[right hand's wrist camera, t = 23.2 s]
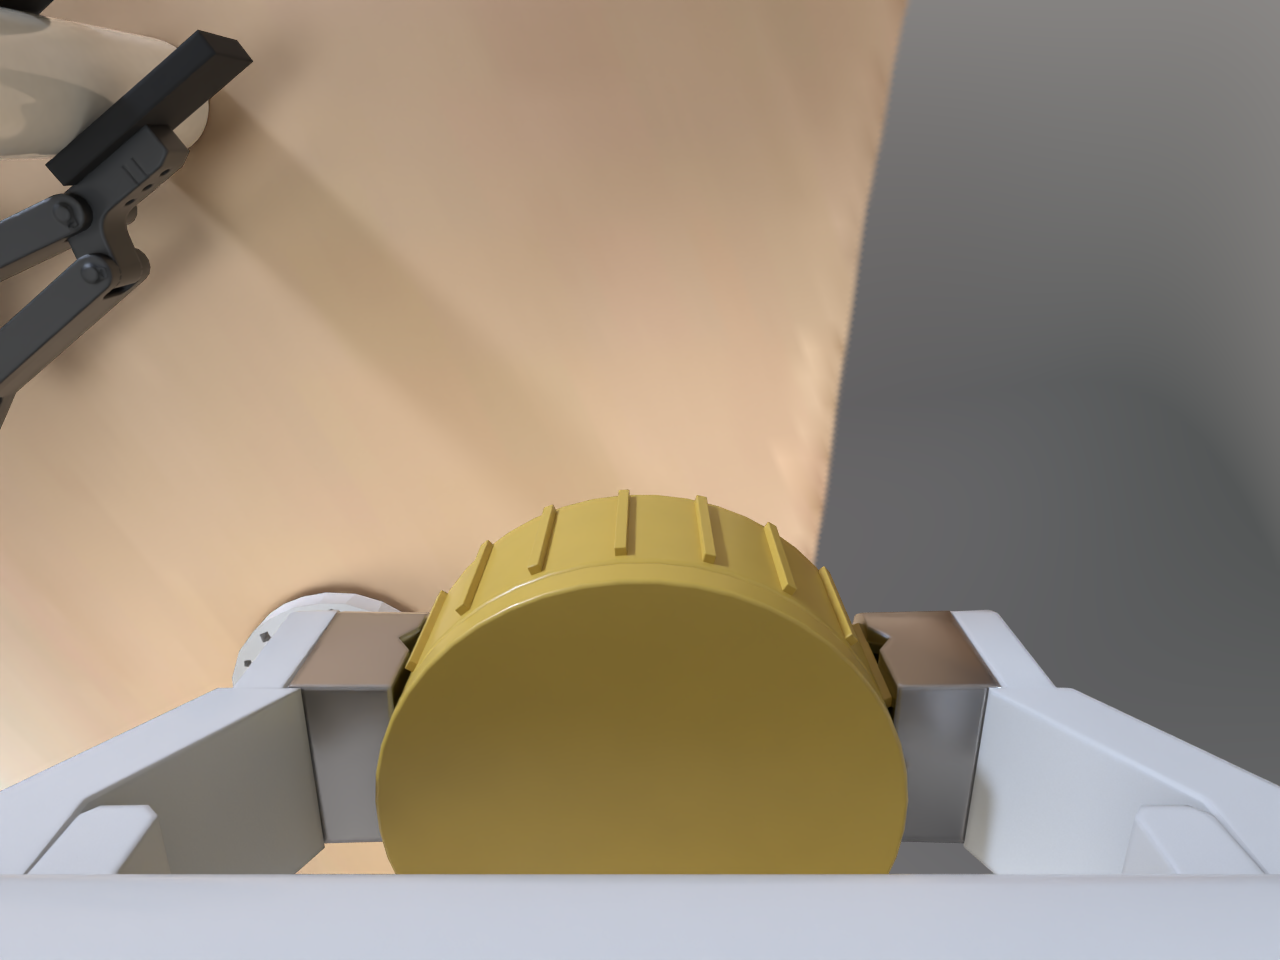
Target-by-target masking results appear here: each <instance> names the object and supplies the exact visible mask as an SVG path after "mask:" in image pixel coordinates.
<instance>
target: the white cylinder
mask: <svg viewBox="0 0 1280 960" xmlns="http://www.w3.org/2000/svg"><path fill="white" fill-rule="evenodd" d="M176 49H177V48H176V47H175V46H173V45H171V44H169V43H168V42H165V41H163V40H160V39H157V38H153V37H148V36H143V35H138V34H133V33H128V32H123V31H118V30H113V29H108V28H103V27H98V26H93V25H88V24H83V23H78V22H73V21H68V20H63V19H59V18H54V17H49V16H44V15H39V14H34V13H29V12H24V11H19V10H14V9H9V8H4V7H0V161H3V160H32V159H52V158H53V157H54V156H56V155H57V154H58V153H59V152H60V151H61V150H62V149H63V148H65V147H66V146H67V145H68V144H69V143H70V142H71V141H73V140H74V139H75V138H76V137H77V136H78V135H79V134H80V133H82V132H83V131H84V130H85V129H86V128H87V127H88V126H90V125H91V124H92V123H93V122H94V121H95V120H96V119H97V118H99V117H100V116H101V115H102V114H103V113H104V112H105V111H107V110H108V109H109V108H110V107H111V106H112V105H113V104H114V103H116V102H117V101H118V100H119V99H120V98H121V97H122V96H123V95H125V94H126V93H127V92H128V91H129V90H130V89H131V88H133V87H134V86H135V85H136V84H137V83H138V82H139V81H140V80H142V79H143V78H144V77H145V76H146V75H147V74H148V73H150V72H151V71H152V70H153V69H154V68H155V67H156V66H157V65H159V64H160V63H161V62H162V61H163V60H164V59H165V58H166V57H168V56H169V55H170V54H171V53H172V52H173V51H174V50H176ZM208 111H209V103H208V101H207V102H205V103H204V104H203V105H202V106H201V107H200V108H198V109H197V110H196V111H195V112H194V113H193V114H191V115H190V116H189V117H188V118H187V119H186V120H184V121H183V122H182V123H181V124H180V125H179V126H178V127H176V128H175V129H174V130H173V131H174V133H175V134H176V135H177V136H178V138H179V139H180V140H181V141H182V142H183V144H184V145H185V146H186V147H187V149H188V148H189V147H190V146H192V145H193V144H194V143H195V142H196V141H197V140H198V139H199V137H200V136H201V134H202V132H203V130H204V129H205V126H206V123H207V118H208Z"/></svg>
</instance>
